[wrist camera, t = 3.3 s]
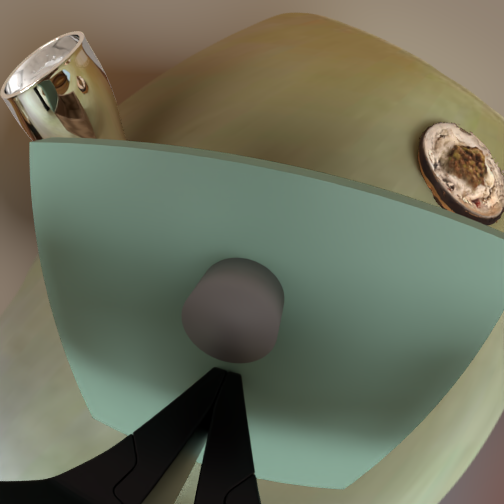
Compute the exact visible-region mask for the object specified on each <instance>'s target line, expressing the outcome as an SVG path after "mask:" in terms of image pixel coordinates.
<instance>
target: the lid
mask: <svg viewBox="0 0 504 504" xmlns="http://www.w3.org/2000/svg"><path fill="white" fill-rule="evenodd" d="M30 179H31V195H32V206H33V216H34V224H35V232H36V238H37V245H38V251H39V256H40V262H41V267H42V272H43V276H44V281H45V285H46V289H47V294H48V298H49V301H50V305H51V309H52V312H53V316H54V319H55V323H56V326H57V329H58V333H59V336H60V339H61V342H62V345H63V348H64V350H65V353H66V356H67V359H68V361H69V364H70V367H71V369H72V372H73V374H74V377H75V379H76V382H77V384H78V387H79V389H80V391H81V393H82V396H83V398H84V400H85V402H86V405H87V407H88V409H89V411H90V413H91V415H92V417H93V418H94V419H96V420H98V421H100V422H102V423H103V424H105V425H107V426H109V427H111V428H113V429H115V430H117V431H119V432H122V433H124V434H126V435H130V434H133V432H134V431H135V430H137V429H138V428H139V427H141V426H142V425H143V424H144V423H146V422H147V421H148V420H150V419H151V418H152V417H153V416H155V415H156V414H157V413H158V412H160V411H161V410H162V409H163V408H165V407H166V406H167V405H168V404H170V403H171V402H172V401H173V400H175V399H176V398H177V397H178V396H180V395H181V394H182V393H183V392H184V391H186V390H187V389H188V388H189V387H190V386H192V385H193V384H194V383H195V382H196V381H198V380H199V379H200V378H201V377H202V376H203V375H205V374H206V373H207V372H208V371H209V370H211V369H212V368H213V367H218V368H221V369H225V370H226V371H227V372H228V371H232V372H236V373H239V374H241V376H242V382H243V390H244V398H245V405H246V412H247V420H248V427H249V434H250V441H251V448H252V454H253V461H254V468H255V475H256V478H259V479H264V480H270V481H275V482H281V483H287V484H294V485H302V486H310V487H320V488H332V489H345V488H346V487H348V486H349V485H350V484H352V483H353V482H354V481H356V480H357V479H358V478H360V477H361V476H362V475H363V474H365V473H366V472H367V471H368V470H370V469H371V468H372V467H373V466H375V465H376V464H377V463H378V462H379V461H381V460H382V459H383V458H384V457H385V456H386V455H387V454H389V453H390V452H391V451H392V450H393V449H394V448H395V447H396V446H397V445H398V444H400V443H401V442H402V441H403V440H404V439H405V438H406V437H407V436H408V435H409V434H410V433H411V432H412V431H413V430H414V429H415V428H416V427H417V426H418V425H419V424H420V423H421V422H422V421H423V420H424V419H425V418H426V416H427V415H428V414H429V413H430V412H431V411H432V410H433V409H434V408H435V407H436V405H437V404H438V403H439V402H440V401H441V400H442V398H443V397H444V396H445V395H446V394H447V393H448V391H449V390H450V389H451V388H452V386H453V385H454V384H455V383H456V381H457V380H458V379H459V378H460V376H461V375H462V374H463V372H464V371H465V370H466V368H467V367H468V366H469V364H470V363H471V361H472V360H473V359H474V357H475V356H476V354H477V353H478V351H479V350H480V348H481V347H482V345H483V344H484V342H485V341H486V339H487V338H488V336H489V335H490V333H491V331H492V330H493V328H494V326H495V325H496V323H497V321H498V320H499V318H500V316H501V315H502V313H503V311H504V233H503V232H501V231H498V230H496V229H494V228H491V227H489V226H487V225H484V224H482V223H479V222H477V221H474V220H472V219H469V218H467V217H464V216H461V215H459V214H456V213H453V212H451V211H448V210H445V209H443V208H440V207H437V206H434V205H431V204H428V203H425V202H422V201H419V200H416V199H413V198H410V197H407V196H404V195H401V194H398V193H395V192H391V191H388V190H385V189H381V188H378V187H374V186H371V185H367V184H364V183H360V182H357V181H353V180H349V179H346V178H342V177H338V176H334V175H330V174H326V173H322V172H318V171H313V170H309V169H305V168H300V167H296V166H291V165H287V164H282V163H277V162H272V161H267V160H262V159H257V158H252V157H246V156H241V155H235V154H229V153H223V152H217V151H210V150H203V149H196V148H189V147H181V146H173V145H165V144H156V143H146V142H135V141H123V140H110V139H92V138H65V137H51V138H46V139H42V140H37V141H33V142H30ZM205 445H206V443H205ZM205 445H204V447H203V449H202V451H201V453H200V455H199V457H198V459H197V460H196V462H198V463H201V464H202V460H203V455H204V450H205Z"/></svg>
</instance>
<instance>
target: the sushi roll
mask: <svg viewBox="0 0 504 504" xmlns="http://www.w3.org/2000/svg"><path fill="white" fill-rule="evenodd" d="M458 125H460V124H458ZM470 133H471V134H472V135H471V134H470ZM470 133H468V132H466V131H465V130H463V129H462V128H460V129H459V127H458V126H457V125H456V124H455V123H445V122H444V123H442V122H440V123H436V124H433V125H432V126H430V127H428V128H427V129H426V130H425V131H424V132H423V133H422V135H421V138H419V139H420V142H419V154H418V161H419V164H420V170H421V172H422V175H423V178H424V179H425V182H426V183H427V185H428V187H429V188H430V189H431V191H433V192H432V193H433V196H434V199H435V200H436V202H437V203H438V204H439V205H440V206H441V208H443V209H445V210H448V211H451V212H453V213H456V214H459V215H461V216H464V217H467V218H469V219H472V220H474V221H477V222H479V223H482V224H484V225H491V224H493V223H495V222H496V223H497V220H498V219H500V218H501V214H502V213H503V212H504V176H503V175H502V173H503V174H504V171H503V170H502V172H501V169H500V168H499V167H498V166H497V164H495V162H494V161H493V160H494V159H492V158H490V157H492V155H491V153H490V150H489V149H487V148H486V146H485V145H484V144H483V143H482V142H481V141H480V140H479V139H478V138H477V137H476V136H475V135H474V134H473V133H472V132H470ZM463 141H464V142H463ZM482 145H483V146H484V147H482ZM485 148H486V149H485ZM497 163H498V162H497Z"/></svg>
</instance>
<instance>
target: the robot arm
mask: <svg viewBox="0 0 504 504" xmlns="http://www.w3.org/2000/svg"><path fill="white" fill-rule="evenodd" d="M205 443H206V445H205ZM204 445H205V450H204V455H203V460H202V465H201V470H200V475H199V480H198V485H197V490H196V495H195V500H194V504H261V501H260V496H259V491H258V486H257V480H256V475H255V468H254V461H253V454H252V448H251V441H250V434H249V427H248V420H247V412H246V405H245V398H244V390H243V382H242V376H241V374H239V373H236V372H232V371H228V372H227V371H226V370H225V369H221V368H218V367H213V368H212V369H211V370H209V371H208V372H207V373H206V374H205V375H203V376H202V377H201V378H200V379H199V380H198V381H196V382H195V383H194V384H193V385H192V386H190V387H189V388H188V389H187V390H186V391H184V392H183V393H182V394H181V395H180V396H178V397H177V398H176V399H175V400H173V401H172V402H171V403H170V404H168V405H167V406H166V407H165V408H163V409H162V410H161V411H160V412H158V413H157V414H156V415H155V416H153V417H152V418H151V419H150V420H148V421H147V422H146V423H144V424H143V425H142V426H141V427H139V428H138V429H137V430H135V431H134V432H133V434H130V435H128V436H127V437H126V438H125V439H123V440H122V441H120V442H119V443H117V444H116V445H115V446H113V447H112V448H110V449H109V450H107V451H105V452H104V453H102V454H100V455H98V456H96V457H95V458H93V459H91V460H89V461H87V462H85V463H83V464H81V465H79V466H77V467H75V468H73V469H71V470H69V471H66V472H64V473H62V474H60V475H58V476H55V477H52V478H48V479H43V480H31V481H0V504H174V502H175V501H176V499H177V497H178V495H179V493H180V491H181V489H182V487H183V486H184V484H185V482H186V480H187V478H188V476H189V474H190V472H191V470H192V468H193V466H194V464H195V462H196V460H197V459H198V457H199V455H200V453H201V451H202V449H203V447H204Z"/></svg>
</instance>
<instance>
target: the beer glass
mask: <svg viewBox="0 0 504 504" xmlns="http://www.w3.org/2000/svg"><path fill="white" fill-rule="evenodd" d="M1 97H2V98H3V99H4V101H5V102H6V104H7V106H8V107H9V109H10V111H11V112H12V114H13V115H14V117H15V118H16V120H17V121H18V123H19V124H20V126H21V127H22V128H23V130H24V131H25V132H26V134H27V135H28V136H29V137H30V138H31V139H32V141H37V140H42V139H46V138H51V137H65V138H92V139H110V140H123V141H127V139H126V137H125V133H124V130H123V126H122V123H121V119H120V115H119V111H118V107H117V103H116V100H115V97H114V94H113V90H112V88H111V85H110V83H109V81H108V78H107V76H106V74H105V72H104V70H103V68H102V67H101V64H100V62H99V61H98V59H97V57H96V55H95V54H94V52H93V51H92V49H91V47H90V45H89V44H88V42H87V40H86V38H85V36H84V34H83V33H82V32H79V31H76V32H71V33H67V34H64V35H62V36H59V37H57V38H55V39H53V40H51V41H49V42H48V43H46V44H44V45H43V46H41V47H40V48H39V49H37V50H36V51H34V52H33V53H32V54H30V55H29V56H28V57H27V58H26V59H25V60H24V61H23V62H21V63H20V64H19V65H18V66H17V67H16V68H15V70H14V71H13V72H12V73H11V74H10V76H9V77H8V78H7V80H6V81H5V83H4V85H3V87H2V89H1Z"/></svg>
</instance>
